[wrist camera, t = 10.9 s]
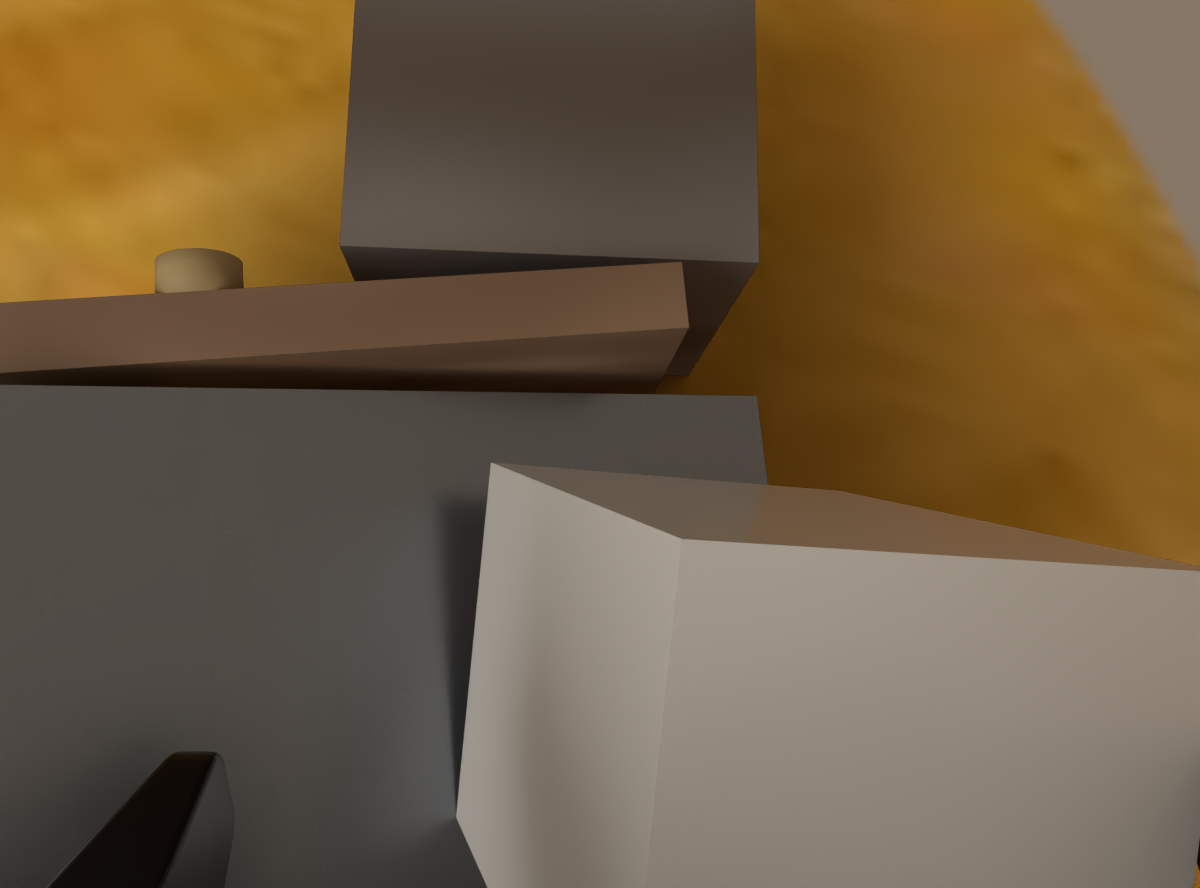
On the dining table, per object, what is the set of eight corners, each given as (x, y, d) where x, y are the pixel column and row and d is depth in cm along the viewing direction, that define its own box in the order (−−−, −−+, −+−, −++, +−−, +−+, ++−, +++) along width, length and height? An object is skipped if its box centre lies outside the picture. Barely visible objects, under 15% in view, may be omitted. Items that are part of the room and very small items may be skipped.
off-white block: (804, 808, 17) (1167, 1099, 10) (455, 816, 15) (615, 1173, 8) (839, 490, 17) (1232, 573, 10) (490, 462, 15) (681, 539, 8)
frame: (681, 945, 21) (778, 1116, 13) (111, 1014, 20) (-146, 1243, 12) (623, 365, 24) (678, 220, 16) (106, 401, 23) (-114, 265, 15)
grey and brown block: (648, 837, 22) (819, 883, 17) (-45, 961, 17) (-116, 1084, 12) (612, 461, 24) (759, 394, 18) (-35, 471, 19) (-95, 381, 13)
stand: (688, 375, 24) (758, 262, 17) (391, 366, 23) (339, 245, 16) (687, 125, 25) (753, -76, 18) (404, 110, 24) (361, -101, 18)
